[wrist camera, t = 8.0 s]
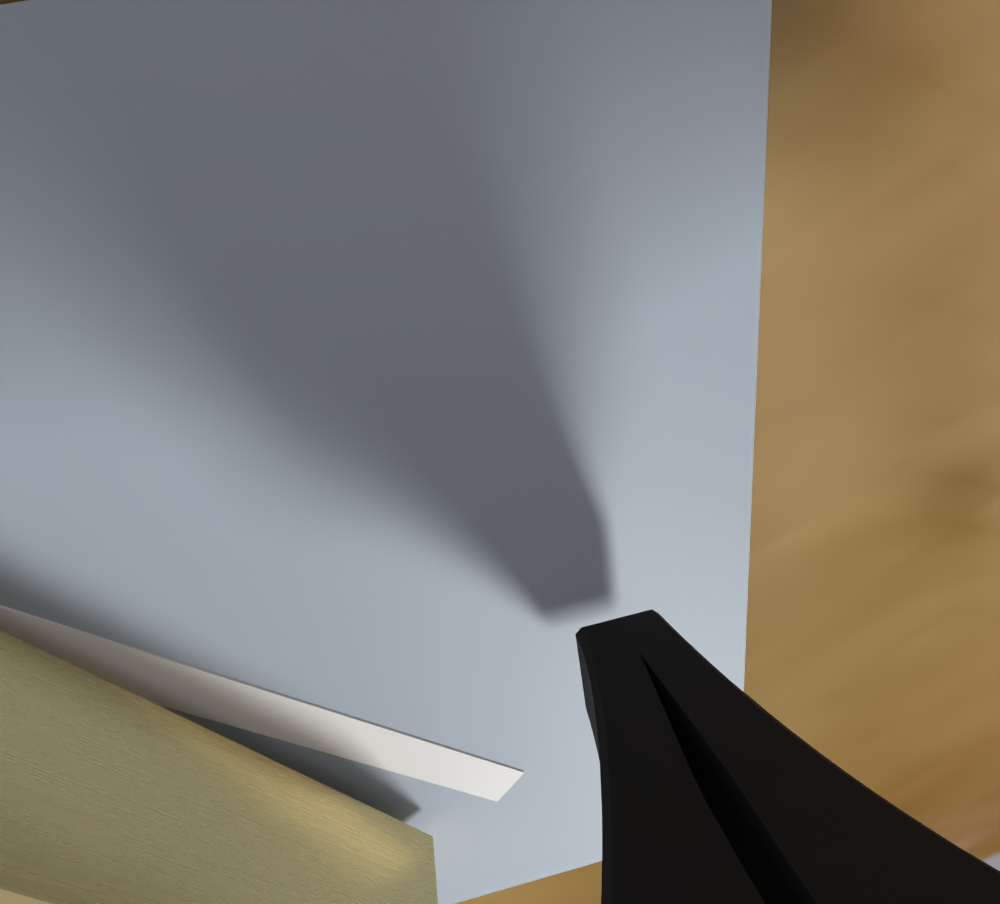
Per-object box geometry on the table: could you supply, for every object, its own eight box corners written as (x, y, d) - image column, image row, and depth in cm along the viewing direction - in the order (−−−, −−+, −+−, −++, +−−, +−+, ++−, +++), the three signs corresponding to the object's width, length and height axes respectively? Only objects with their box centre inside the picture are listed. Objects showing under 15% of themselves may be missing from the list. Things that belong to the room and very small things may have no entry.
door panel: (-37, 1022, 14) (-52, 1053, 14) (-1157, 205, 6) (-1302, 210, 5) (727, 801, 16) (738, 822, 15) (752, -102, 7) (779, -121, 7)
